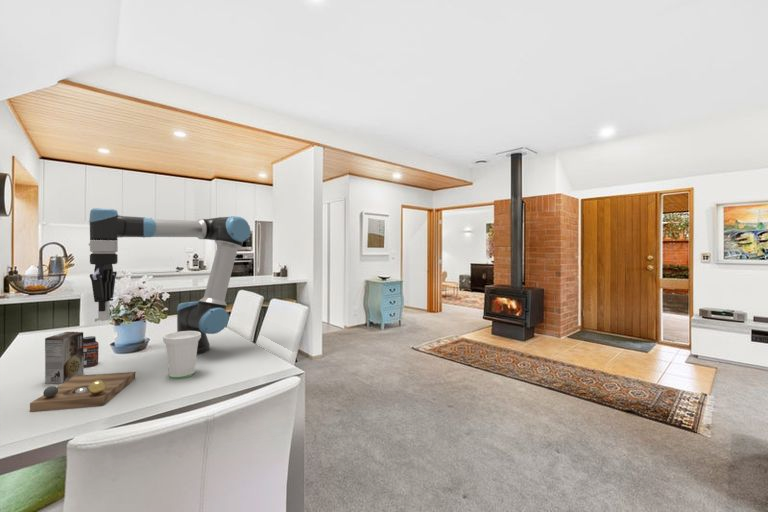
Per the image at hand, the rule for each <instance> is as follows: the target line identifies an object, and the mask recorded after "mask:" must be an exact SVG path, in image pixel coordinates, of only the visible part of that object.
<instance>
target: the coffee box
mask: <svg viewBox="0 0 768 512" xmlns="http://www.w3.org/2000/svg"><path fill="white" fill-rule="evenodd" d="M83 338H84V332H83V331H81V332H80V331H79V332H78V331H64V332H61V333H57V334H54V335H52V336H48V337H45V338H44V351H45V352H44V364H45V365H44V375H45V376H44V383H45V385H49V384H51V385H52V384H63V383H65V382H66V381H68V380H70V379H72V378H73V377H75V376H79V375H85V372H84V368H85V367H84V351H83V350H84V349H83Z"/></svg>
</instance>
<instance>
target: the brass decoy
mask: <svg viewBox="0 0 768 512" xmlns="http://www.w3.org/2000/svg"><path fill="white" fill-rule="evenodd" d="M105 388H106V384H105V382H104V381H102V380H96V381H94V382H92V383H91V384H90V385H89V387H88V391H89V393H91V394H93V395H97V394H100V393H102V392H103V391H104V390H105Z"/></svg>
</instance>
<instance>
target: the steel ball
mask: <svg viewBox="0 0 768 512" xmlns="http://www.w3.org/2000/svg"><path fill="white" fill-rule="evenodd" d="M87 391H88V389H87V388H85V387H81V388H79V389H77V390H76V391H75V393H74V394H77V393H83V392H87Z"/></svg>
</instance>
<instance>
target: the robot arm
mask: <svg viewBox="0 0 768 512" xmlns="http://www.w3.org/2000/svg"><path fill="white" fill-rule="evenodd" d="M88 223H89V243H88V246H89V252H91V253H90V254H89V264H90V265H94V269H93V270H94V273H90V274H89V278H90V281H91V286H92V294H93V300H94V303H97V305H98V307H97V308H98V309H97V310H98V312H97V314H98V315H97V316H98V319H97V320H98V322H99V321H100V322H101V321H109V320H110V315H111V313H110V312H111V311H110V308H111V307H110V305H111V303H110V302H112V301H114V294H115V284H116V277H117V274H118V273H117V271H114V266H113V265H117V264H118V262H119V261H118V260H119V259H118V254H117V252H118V250H119V249H118V248H119V246H118V244H119V243H118V241H119V239H118V238H143V239H145V238H197V239H199V240H209V241H214V242H215V244H216V245H217V247H216V251H215V255H214V258H213V262H212V266H211V269H210V272H209V277H208V281H207V284H206V288H205V291H204V295H203V297H202V298H201V299H199V300H198V301H197V300H196V301H188V302H181V303H179V304H178V305H177V310H176V318H177V319H176V322H177V323H176V326H177V327H176V332H181V331H198V332H200V333H201V338H200V339H199V341H198V347H197V355H199V354H203V353H206V352H209V350H210V349H211V348H210V347H211V346H210V341H209V338H208V335H214V334H218V333H220V332H222V330H224V329H226V327H227V325H228V323H229V319H230V318H229V317H230V316H229V314H228V311H227V310H226V309H227V306H228V305H227V303H226V301H225V300H226V295H227V292H228V289H229V283H230V280H231V276H232V271H233V268H234V264H235V261H236V257H237V252H238V250H240V249H242V248H243V244H244V242H245V241H246V240H248V239H249V238H250V235H251V226H250V225H249V223H248V221H247V220H246V219H245V218H244V217H241V216H234V215H233V216H220V217H212V218H199V219H197V220H179V219H177V220H176V219H153V218H151V217H150V218H149V217H142V216H141V217H140V216H129V215H128V216H126V215H124V216H123V215H119V214H118V210H116V209H113V208H103V207H102V208H101V207H94V208H92V209H90V212H89V221H88ZM207 334H208V335H207Z"/></svg>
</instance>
